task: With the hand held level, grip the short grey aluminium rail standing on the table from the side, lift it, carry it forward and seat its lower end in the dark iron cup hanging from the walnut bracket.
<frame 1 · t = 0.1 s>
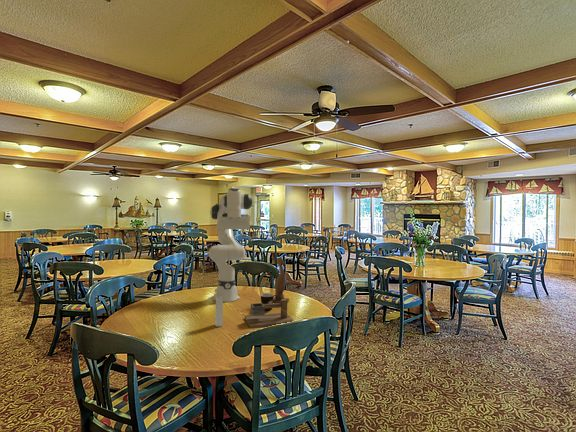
hand: (233, 236, 204), 48 cm above the table, tool pointing down, fingers open, 8 cm apart
coffee mug: (269, 310, 214), on the table
bird sculpture: (279, 302, 231), on the table
cup bracket: (257, 322, 191), on the table
rail: (218, 325, 185), on the table
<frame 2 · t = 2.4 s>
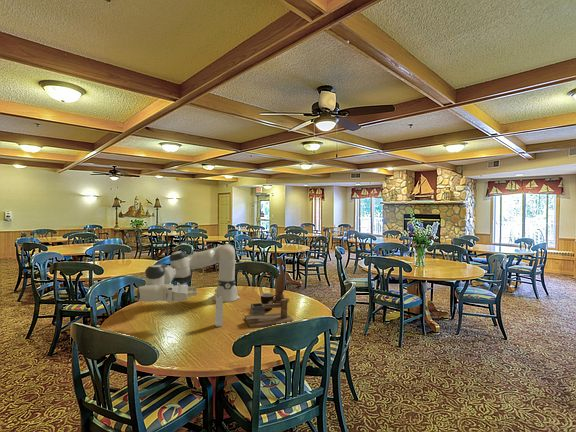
hand: (196, 291, 180), 20 cm above the table, tool horizontal, fingers open, 8 cm apart
nothing on the table moved.
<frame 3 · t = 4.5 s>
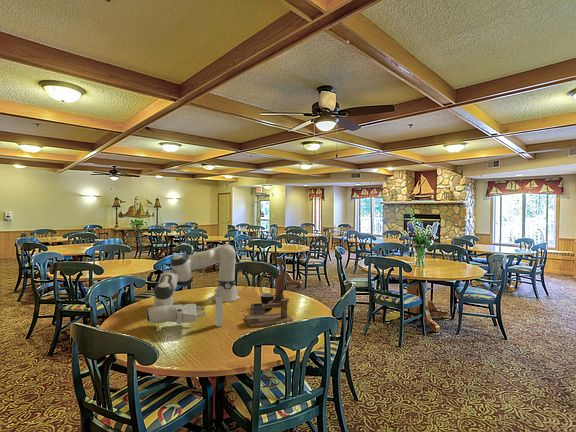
hand: (205, 311, 182), 9 cm above the table, tool horizontal, fingers open, 8 cm apart
nothing on the table moved.
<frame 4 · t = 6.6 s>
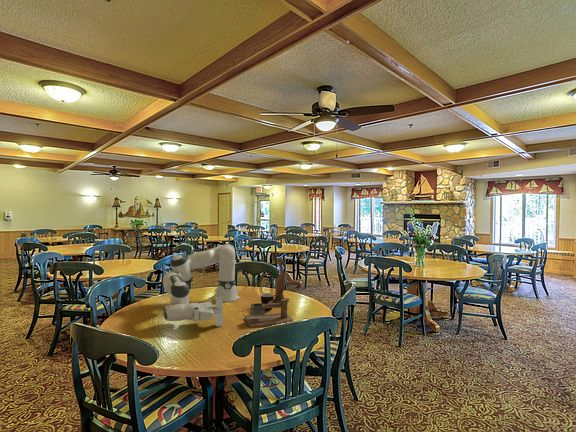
hand: (220, 309, 185), 9 cm above the table, tool horizontal, fingers closed on rail, 4 cm apart
rail: (218, 325, 185), on the table, touching gripper
everything else where it was.
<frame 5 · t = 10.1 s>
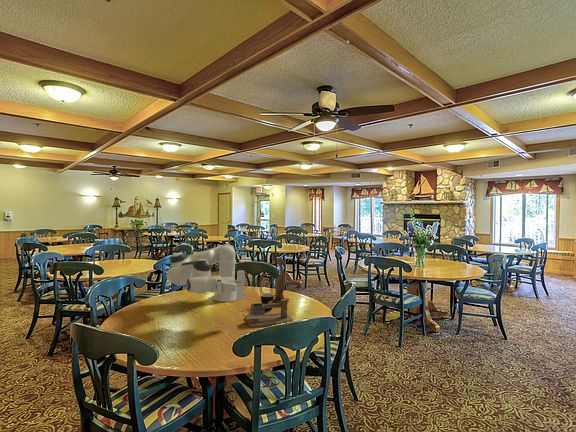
hand: (242, 283, 186), 24 cm above the table, tool horizontal, fingers closed on rail, 4 cm apart
rail: (240, 299, 186), point 15 cm above the table, touching gripper
everything else where it was.
when the fingers open (16 cm above the table, at t = 13.4 s): rail stays where it is, resting on cup bracket.
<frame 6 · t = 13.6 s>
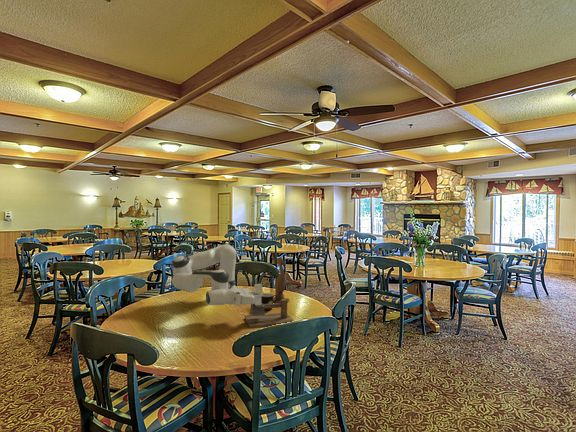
hand: (259, 294, 191), 16 cm above the table, tool horizontal, fingers open, 6 cm apart
rail: (257, 311, 191), point 6 cm above the table, touching cup bracket
everything else where it was.
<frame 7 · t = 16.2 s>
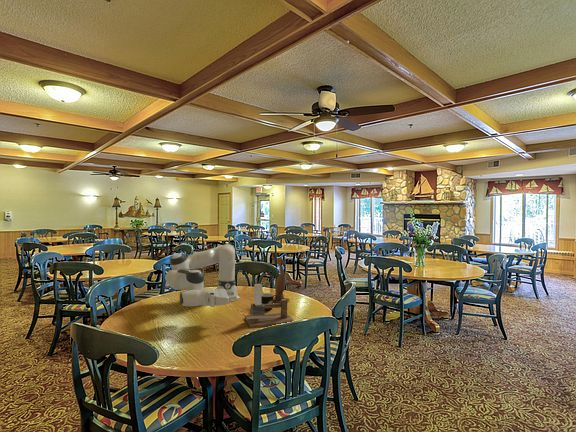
hand: (235, 295, 187), 16 cm above the table, tool horizontal, fingers open, 8 cm apart
nothing on the table moved.
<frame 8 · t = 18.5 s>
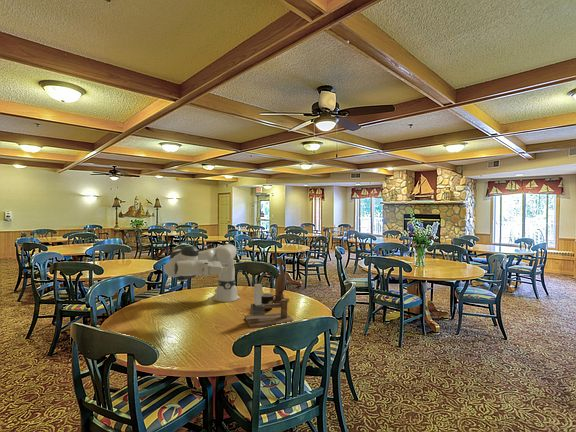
hand: (229, 266, 190), 32 cm above the table, tool horizontal, fingers open, 8 cm apart
nothing on the table moved.
at the end: rail 0.1 cm off-centre on the cup bracket, point 6.0 cm above the cup bracket's base; rail tilted 0°; the gripper is holding nothing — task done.
